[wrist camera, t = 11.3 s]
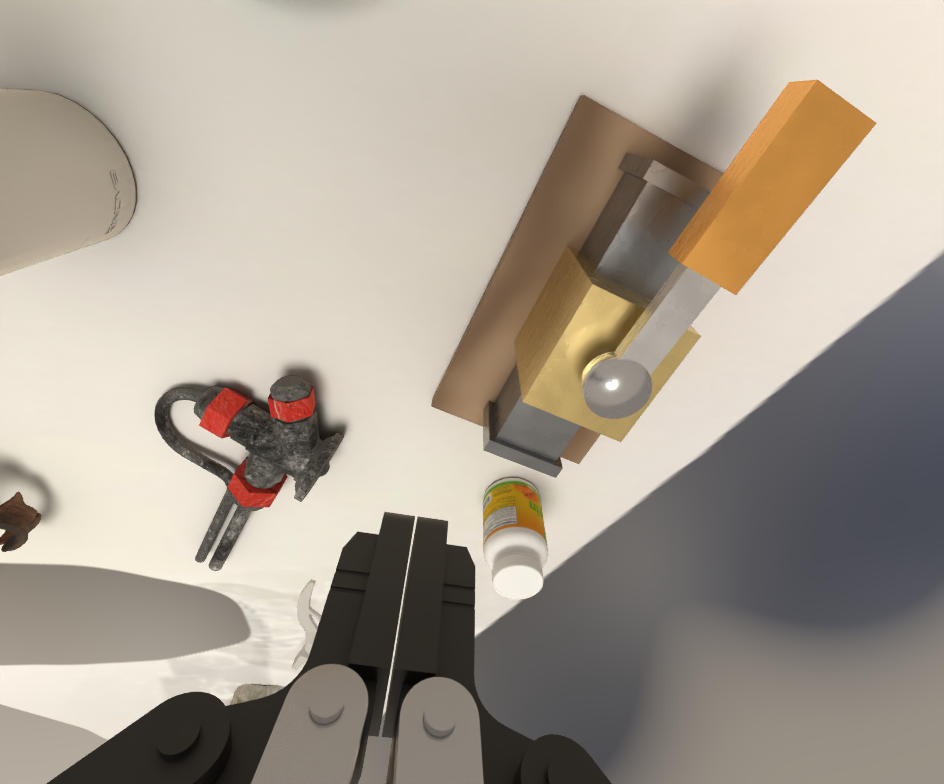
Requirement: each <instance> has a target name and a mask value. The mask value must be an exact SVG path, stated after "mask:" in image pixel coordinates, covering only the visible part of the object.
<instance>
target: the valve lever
mask: <svg viewBox="0 0 944 784" xmlns="http://www.w3.org/2000/svg"><path fill="white" fill-rule="evenodd" d="M875 124H876V122H874V121H873V120H872V119H870V118H869V117H868V116H866V115H865V114H863V113H862V112H861V111H859V110H858V109H857V108H855V107H854V106H853V105H851V104H850V103H848V102H847V101H846V100H844V99H843V98H842V97H840V96H839V95H838V94H836V93H835V92H834V91H832V90H831V89H829V88H828V87H827V86H825V85H824V84H823V83H821V82H820V81H819V80H809V81H798V82H789V83H788V84H787V86H786V87H785V89H784V90H783V91H782V93H781V94H780V96H779V97H778V98H777V100H776V101H775V103H774V104H773V105H772V107H771V108H770V110H769V111H768V112H767V114H766V115H765V117H764V118H763V119H762V121H761V122H760V124H759V125H758V126H757V128H756V129H755V131H754V132H753V134H752V135H751V136H750V138H749V139H748V141H747V142H746V143H745V145H744V146H743V148H742V149H741V150H740V152H739V153H738V155H737V156H736V157H735V159H734V160H733V162H732V163H731V164H730V166H729V167H728V169H727V170H726V171H725V173H724V174H723V176H722V177H721V178H720V180H719V181H718V183H717V184H716V185H715V187H714V188H713V190H712V191H711V192H710V194H709V195H708V197H707V198H706V200H705V201H704V202H703V204H702V205H701V207H700V208H699V209H698V211H697V212H696V214H695V215H694V216H693V218H692V219H691V221H690V222H689V223H688V225H687V226H686V228H685V229H684V230H683V232H682V233H681V235H680V236H679V237H678V239H677V240H676V242H675V243H674V244H673V246H672V247H671V249H670V250H669V251H668V254H670V255H671V256H672V257H673V258H675V259H676V260H677V261H679V262H680V263H679V264H678V266H677V267H676V268H675V270H674V271H673V272H672V274H671V275H670V277H669V278H668V279H667V281H666V282H665V283H664V285H663V286H662V288H661V289H660V290H659V292H658V293H657V294H656V296H655V297H654V298H653V300H652V301H651V303H650V304H649V305H648V307H647V308H646V309H645V311H644V312H643V313H642V315H641V316H640V318H639V319H638V320H637V322H636V323H635V324H634V326H633V327H632V328H631V330H630V331H629V333H628V334H627V335H626V337H625V338H624V339H623V341H622V342H621V344H620V345H619V346H618V348H617V349H616V350H615V351H611V352H607V353H604V354H601V355H599V356H598V357H596V358H594V359H593V360H592V361H591V362H590V363H589V364H588V365H587V366H586V368H585V369H584V371H583V373H582V376H581V381H580V385H581V390H582V393H583V396H584V398H585V401H586V404H587V406H588V407H589V409H590V410H591V411H592V412H594V413H595V414H596V415H598V416H600V417H603V418H608V419H620V418H625V417H628V416H630V415H632V414H634V413H636V412H637V411H639V410H640V409H641V408H642V407H643V406H644V405H645V404H646V403H647V401H648V400H649V398H650V395H651V392H652V380H651V377H650V375H651V374H652V373H653V372H654V370H655V369H656V368H657V366H658V365H659V364H660V363H661V361H662V360H663V359H664V358H665V356H666V355H667V354H668V353H669V351H670V350H671V349H672V348H673V346H674V345H675V344H676V343H677V341H678V340H679V339H680V338H681V336H682V335H683V334H684V333H685V331H686V330H687V329H688V328H689V326H690V325H691V324H692V322H693V321H694V320H695V319H696V317H697V316H698V315H699V314H700V312H701V311H702V310H703V309H704V307H705V306H706V305H707V304H708V302H709V301H710V300H711V299H712V297H713V296H714V295H715V294H716V292H717V291H718V290H719V289H720V287H723V288H724V289H726V290H728V291H730V292H731V293H733V294H735V295H736V294H737V293H738V292H739V291H740V289H741V288H742V287H743V286H744V285H745V283H746V282H747V281H748V280H749V278H750V277H751V276H752V275H753V274H754V272H755V271H756V270H757V269H758V267H759V266H760V265H761V264H762V263H763V261H764V260H765V259H766V258H767V256H768V255H769V254H770V253H771V252H772V250H773V249H774V248H775V247H776V245H777V244H778V243H779V242H780V241H781V239H782V238H783V237H784V236H785V234H786V233H787V232H788V231H789V230H790V228H791V227H792V226H793V225H794V223H795V222H796V221H797V220H798V219H799V217H800V216H801V215H802V214H803V212H804V211H805V210H806V209H807V208H808V206H809V205H810V204H811V203H812V201H813V200H814V199H815V198H816V197H817V195H818V194H819V193H820V192H821V190H822V189H823V188H824V187H825V186H826V184H827V183H828V182H829V181H830V179H831V178H832V177H833V176H834V175H835V173H836V172H837V171H838V170H839V168H840V167H841V166H842V165H843V164H844V162H845V161H846V160H847V159H848V157H849V156H850V155H851V154H852V153H853V151H854V150H855V149H856V148H857V146H858V145H859V144H860V143H861V142H862V140H863V139H864V138H865V137H866V135H867V134H868V133H869V132H870V131H871V129H872V128H873V127H874V126H875Z"/></svg>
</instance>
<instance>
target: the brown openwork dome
mask: <svg viewBox="0 0 944 784" xmlns="http://www.w3.org/2000/svg"><path fill="white" fill-rule="evenodd" d="M40 520H41V514H40V513H37V511H36V510H35V509H34V508H33V507H30V506H28V505H26V504H25V503H24V501H23V497H22V495H21V493H20V492H17V493H16V494H15V495H14V497H12V498H11V499H10V500H8V501H6V502H5V503H3V504H2V505H0V529H4V530H6V531H5V533H4V534H3V535H2V536H1V537H0V545H2V544H4V545H3V546H2V549H1V550H2V551H3V552H6V551H12V550H15V549H17V548H19V547H21V546H22V545H23V544H25V543H26V541H27V540H28V533H29V532H30V531H31V530H32V529H34V528H35V527H36V526H37V525H38V524H39V522H40Z"/></svg>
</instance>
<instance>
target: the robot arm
mask: <svg viewBox="0 0 944 784" xmlns="http://www.w3.org/2000/svg"><path fill="white" fill-rule="evenodd" d="M135 203H136V187H135V183H134V178H133V173H132V170H131V168H130V165H129V163H128V160H127V158H126V156H125V154H124V152H123V151H122V149H121V147H120V146H119V144H118V142H117V141H116V139H115V138H114V137H113V136H112V135H111V133H110V132H109V131H108V130H107V128H106V127H105V126H104V125H103V124H102V123H101V122H100V121H99V120H98V119H96V118H95V117H94V116H93V115H92V114H91V113H90V112H88V111H87V110H85V109H84V108H82V107H81V106H79V105H78V104H76V103H75V102H73V101H71V100H69V99H66V98H64V97H62V96H60V95H57V94H54V93H49V92H45V91H41V90H22V89H0V276H1V275H4V274H7V273H10V272H13V271H16V270H19V269H21V268H24V267H27V266H30V265H33V264H36V263H39V262H42V261H45V260H48V259H51V258H54V257H57V256H60V255H62V254H65V253H69V252H72V251H75V250H77V249H80V248H83V247H86V246H89V245H92V244H95V243H98V242H101V241H103V240H106V239H109V238H111V237H113V236H115V235H117V234H119V233H120V232H121V231H122V230H123V229H124V228H125V227H126V226H127V224H128V223H129V221H130V219H131V217H132V215H133V212H134V207H135ZM414 520H415V516H410V515H403V514H396V513H389V512H385V513H384V516H383V520H382V524H381V529H380V533H379V535H377V534H370V533H363V532H357V533H356V534H355V535H354V536H353V537H352V538H351V540H350V541H349V542H348V543H347V544H346V545H345V546H344V547H343V549H342V552H341V556H340V559H339V562H338V565H337V568H336V573H335V575H334V578H333V581H332V584H331V589H330V591H329V594H328V597H327V600H326V603H325V606H324V610H323V613H322V616H321V619H320V622H319V626H318V629H317V632H316V635H315V638H314V641H313V645H312V648H311V651H310V654H309V657H308V659H307V662H306V664H305V666H304V667H303V669H302V670H301V672H300V673H299V674H298V676H297V677H296V678H295V679H294V680H293V681H292V682H291V683H289V684H288V685H287V686H286V687H284V688H283V689H281V690H279V691H278V692H276V693H274V694H271V695H269V696H266V697H263V698H259V699H255V700H250V701H246V702H242V703H237V704H233V705H228V706H225V705H224V703H223V702H222V701H221V700H220V699H219V698H217V697H216V696H214V695H211V694H209V693H204V692H189V693H184V694H180V695H177V696H175V697H172V698H170V699H168V700H166V701H165V702H163V703H161V704H160V705H158V706H157V707H155V708H154V709H152V710H151V711H150V712H148V713H147V714H145V715H144V716H142V717H141V718H140V719H138V720H137V721H135V722H134V723H132V724H131V725H130V726H128V727H127V728H125V729H124V730H122V731H121V732H120V733H118V734H117V735H115V736H114V737H112V738H111V739H110V740H108V741H107V742H105V743H104V744H103V745H101V746H100V747H98V748H97V749H96V750H94V751H92V752H91V753H90V754H88V755H87V756H85V757H84V758H82V759H81V760H80V761H78V762H77V763H75V764H74V765H73V766H71V767H70V768H68V769H67V770H65V771H64V772H62V773H61V774H60V775H58V776H57V777H55V778H54V779H53V780H51V781H50V782H48V783H47V784H358V782H359V779H360V777H361V773H362V768H363V762H364V757H365V751H366V746H367V740H368V735H369V736H379V730H380V725H381V719H382V714H383V708H384V703H385V697H386V691H387V686H388V680H389V675H390V669H391V663H392V657H393V650H394V644H395V638H396V632H397V626H398V619H399V613H400V607H401V601H402V594H403V588H404V582H405V576H406V570H407V563H408V557H409V551H410V545H411V539H412V532H413V526H414ZM447 529H448V521H444V520H438V519H431V518H424V517H418V518H417V523H416V529H415V534H414V540H413V546H412V551H411V557H410V563H409V568H408V574H407V580H406V587H405V593H404V599H403V606H402V612H401V618H400V625H399V631H398V638H397V644H396V650H395V657H394V663H393V669H392V676H391V682H390V688H389V695H388V701H387V707H386V714H385V720H384V727H383V733H382V737H389V738H392V745H391V752H390V759H389V766H388V772H387V777H386V781H385V784H611V783H610V781H609V780H608V779H607V777H606V776H605V775H604V773H603V772H602V771H601V769H600V768H599V767H598V766H597V764H596V763H595V762H594V760H593V759H592V758H591V756H590V755H589V754H588V753H587V752H586V751H585V750H584V749H583V748H582V747H581V746H580V745H579V744H578V743H576V742H575V741H573V740H571V739H569V738H567V737H565V736H561V735H553V734H551V735H545V736H542V737H540V738H538V739H537V740H535V741H533V740H531V739H529V738H527V737H525V736H523V735H522V734H520V733H518V732H516V731H514V730H512V729H510V728H508V727H506V726H504V725H503V724H501V723H499V722H498V721H497V720H496V719H494V718H493V717H492V716H491V715H490V714H489V713H488V711H487V710H486V709H485V707H484V706H483V705H482V703H481V701H480V699H479V697H478V694H477V691H476V687H475V682H474V635H475V610H474V607H475V565H474V563H473V560H472V558H471V556H470V554H469V551H468V549H467V547H462V546H455V545H448V544H446V542H447Z"/></svg>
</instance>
